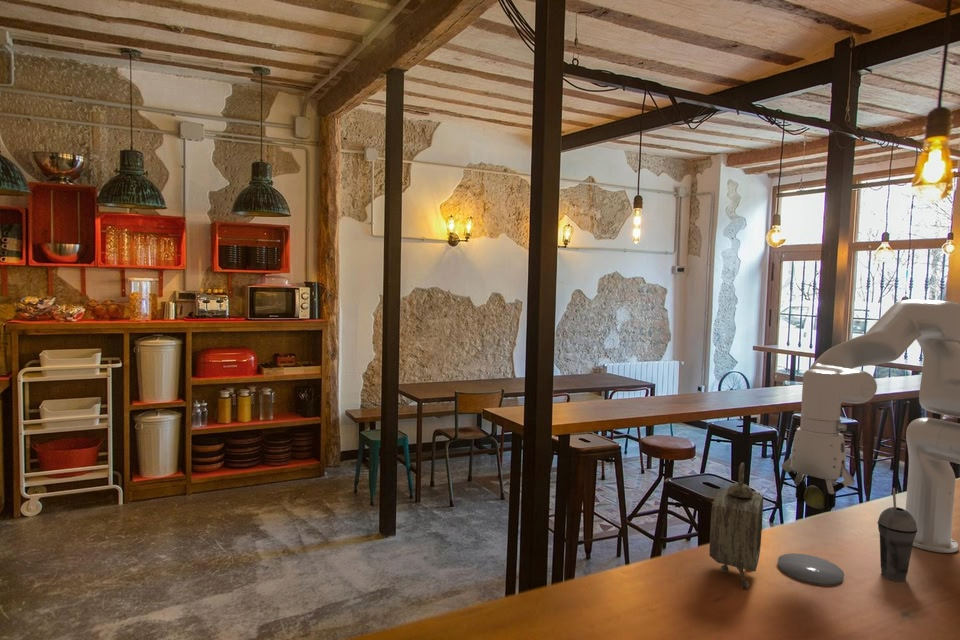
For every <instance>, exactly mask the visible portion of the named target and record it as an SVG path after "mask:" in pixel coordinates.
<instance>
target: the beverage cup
mask: <svg viewBox="0 0 960 640" xmlns="http://www.w3.org/2000/svg"><path fill="white" fill-rule="evenodd" d="M892 499H893V500H892V501H893V506H892V507H891V506H890V507H887V508H886V509H884V510H882V511H881V513H880V515H879V517H878V520H877V525H878V526H877V529H878V532H879V533H878V534H879V554H880V555H879V556H880V557H879V558H880V572H881V573H880V575H881V577H883V578H884V579H887V580H889V581H893V582H895V583H896V582H897V583H905V582H906V581H907V580H906V579H907V575H908V572H909V566H910V562H911V556H912V551H913V550H912V549H913V546H912V545H913V540H914V539H915V536H916V532H917V526H916V522H915V519H914V518H913V516H912V515H911V514H910V513H909V512H908V511H906V509H904V508H901V507H897V496H896V488H895V487H892Z"/></svg>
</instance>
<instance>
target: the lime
mask: <svg viewBox="0 0 960 640" xmlns="http://www.w3.org/2000/svg"><path fill="white" fill-rule="evenodd" d="M803 498H804V503H805V504H806V505H807V506H808V507H811V508H814V509H819V510H821V509H824V506H825V493H824V492H823V491H822V490H820V488H819V487H818V486H816V485H809V486H807V488H806V489H805V491H804V493H803Z"/></svg>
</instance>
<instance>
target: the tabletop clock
mask: <svg viewBox="0 0 960 640" xmlns="http://www.w3.org/2000/svg"><path fill="white" fill-rule="evenodd" d="M745 466H746V465H745V463H744V462H741V463H740V465H739V468H738V479H737V480H738V482H734V483H733V484H731V485H730V486H729V487H728V488H727V489H723V490H720V491H718V492H717V494H716V496H715V498H714V500H713V501H712V502H713V503H712V506H711V515H710V527H709V528H710V529H709V530H710V531H709V532H710V533H709V549H708V550H709V552H708V553H709V557H711V558H712V559H713V560H714V561H715V562H717V563H718V564H722V565H721V566H720V570H721V572H722V573H724V574H726V573H727V574H728V572H729V571H730V570H729V567H728V566H730V567H734V568H736V569H737V570H738V573H739V575H740V577H741V582H740V585H741V587H742V588H743V589H749V588H750V583H749V581H748V580H746V578H745V573H744V572H745V571H744V570H747V571H751V572H755V573H756V571H757V567H758V565H759V564H758V563H759V559H760V554H761V545H762V544H761V543H762V533H763V532H762V530H763V515H764V513H763V512H764V495H762V494H758V493H757V494H756V493H754V492H753V491H752V489H751V487H750V486H749V485H747V484H746V483H744V482H745V481H744V480H745Z"/></svg>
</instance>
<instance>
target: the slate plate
mask: <svg viewBox="0 0 960 640" xmlns="http://www.w3.org/2000/svg"><path fill="white" fill-rule="evenodd" d="M777 567H778V568H779V569H780V571H781V572H782V573H783V574H786V575H787V576H788V577H791V578H793V579H796V580H798V581H801V582H805V583H808V584H811V585H818V586H837V585H840V584H841V583H843V582H844V578H845V577H844V576H845V573H844V571H843V569H841V568H840V567H839V566H838V565H836V564H835V563H833V562H831V561H829V560H826V559H824V558H820V557H818V556H815V555H814V556H813V555H810V554H804V553H785V554H781V555H780V556H778V559H777Z"/></svg>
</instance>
